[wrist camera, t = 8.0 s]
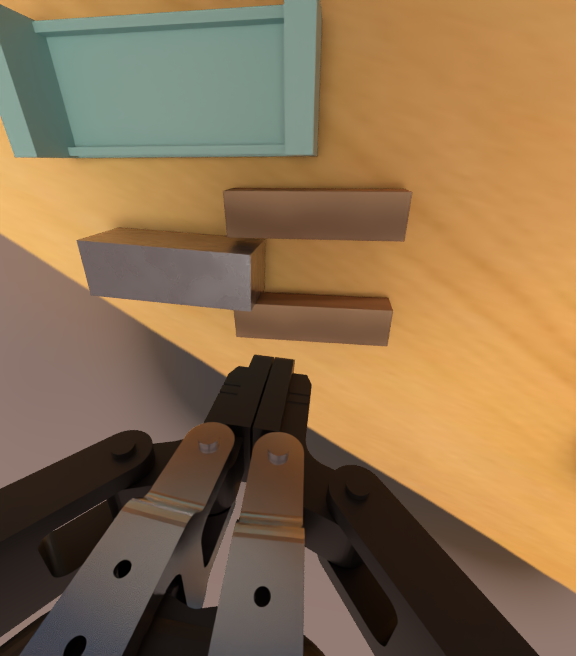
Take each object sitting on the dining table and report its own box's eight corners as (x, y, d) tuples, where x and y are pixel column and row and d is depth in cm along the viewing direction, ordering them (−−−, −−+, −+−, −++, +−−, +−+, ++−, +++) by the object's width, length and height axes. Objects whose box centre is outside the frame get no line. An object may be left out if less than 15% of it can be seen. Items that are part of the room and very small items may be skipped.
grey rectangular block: (120, 226, 26) (76, 240, 21) (265, 238, 25) (250, 254, 20) (129, 274, 28) (90, 295, 23) (264, 287, 27) (250, 311, 22)
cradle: (40, 34, 20) (-42, -1, 16) (322, 17, 18) (317, -29, 14) (74, 158, 24) (15, 157, 19) (317, 156, 21) (312, 154, 17)
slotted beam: (233, 188, 23) (223, 190, 21) (404, 188, 22) (412, 191, 19) (244, 323, 28) (236, 336, 26) (383, 331, 27) (387, 346, 25)
